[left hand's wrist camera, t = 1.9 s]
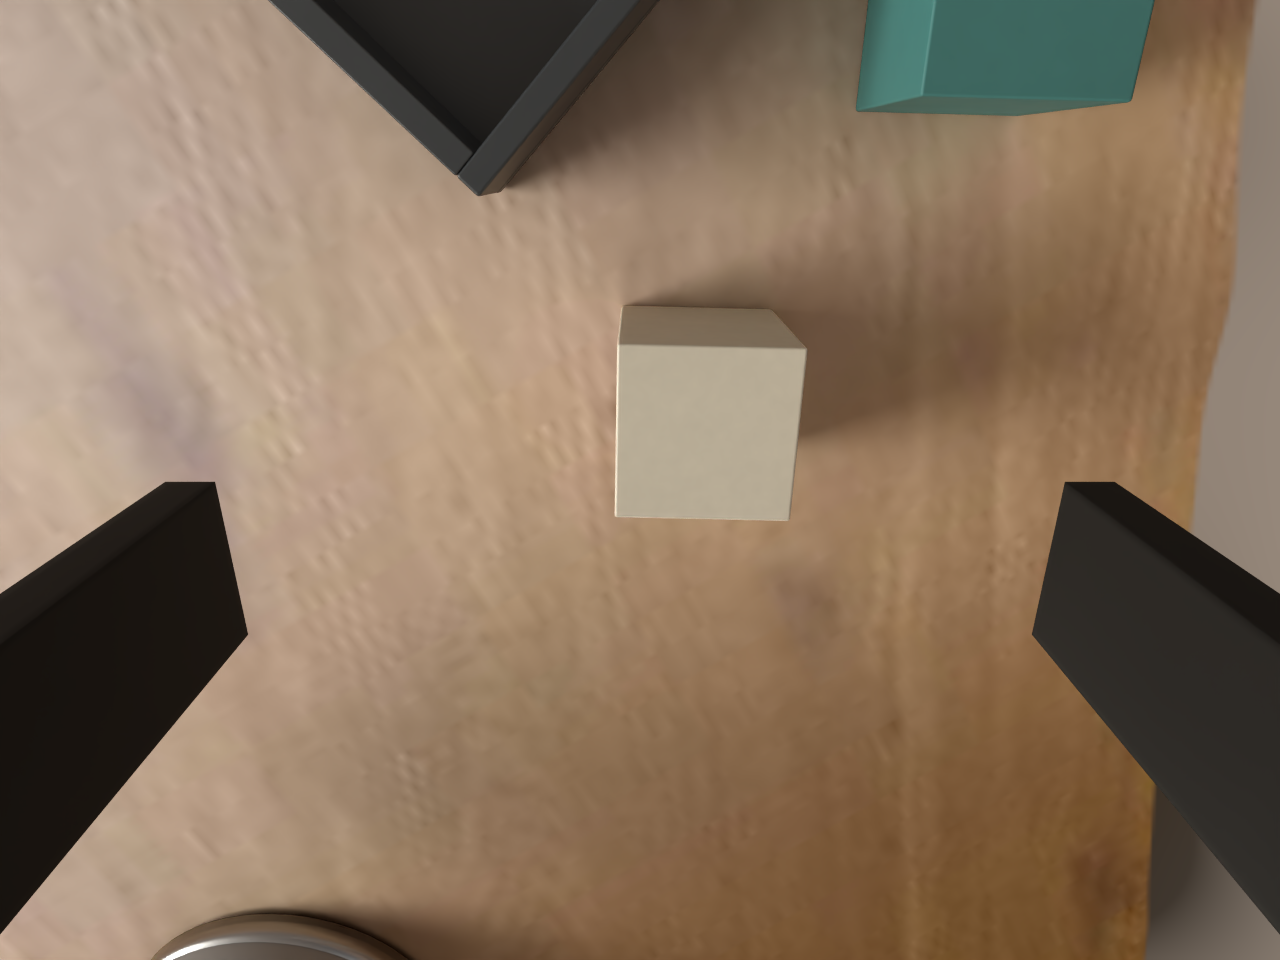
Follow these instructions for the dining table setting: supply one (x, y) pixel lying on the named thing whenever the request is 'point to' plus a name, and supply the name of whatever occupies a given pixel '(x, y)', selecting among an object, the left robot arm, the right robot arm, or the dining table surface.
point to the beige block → (706, 413)
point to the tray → (471, 68)
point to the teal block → (1000, 55)
